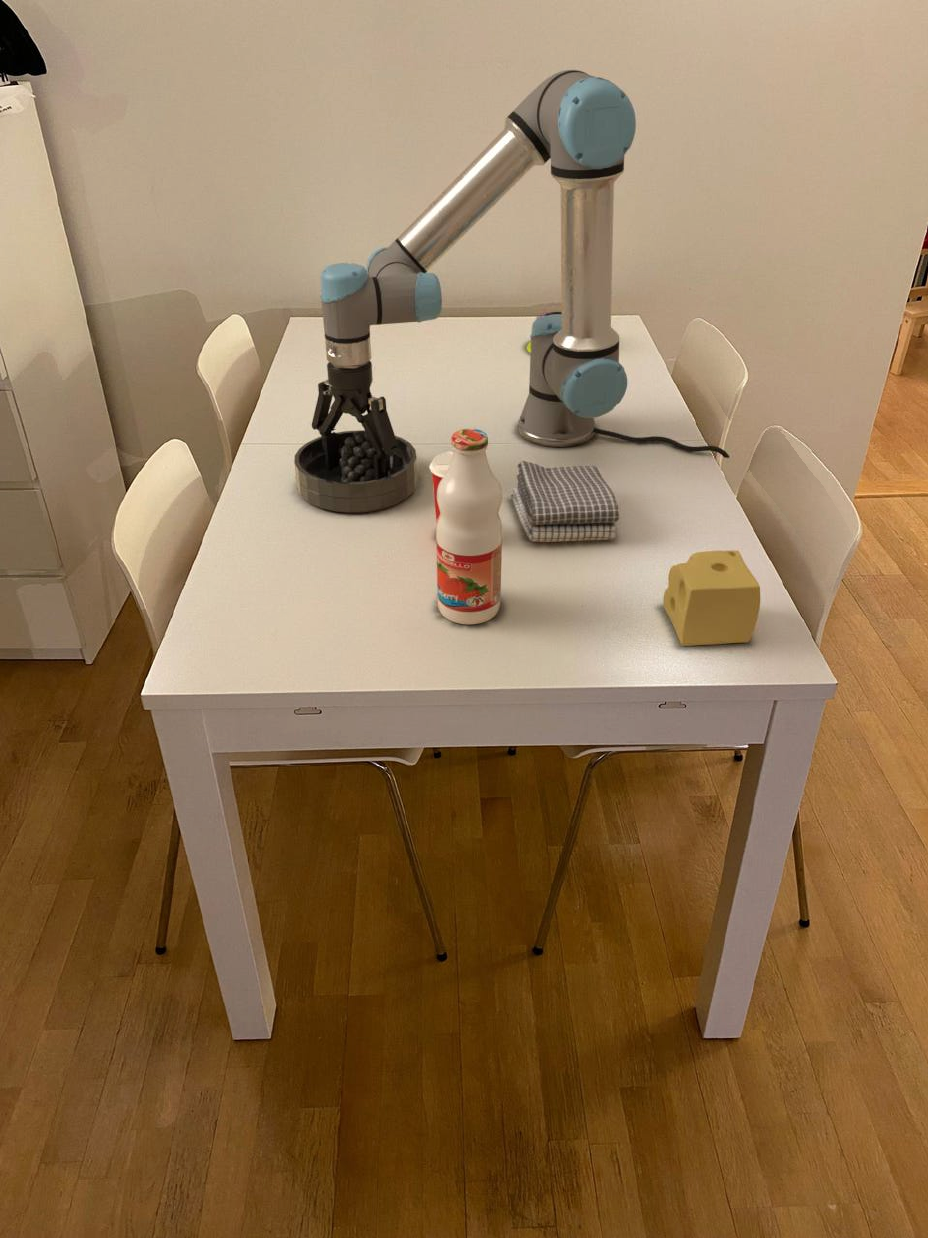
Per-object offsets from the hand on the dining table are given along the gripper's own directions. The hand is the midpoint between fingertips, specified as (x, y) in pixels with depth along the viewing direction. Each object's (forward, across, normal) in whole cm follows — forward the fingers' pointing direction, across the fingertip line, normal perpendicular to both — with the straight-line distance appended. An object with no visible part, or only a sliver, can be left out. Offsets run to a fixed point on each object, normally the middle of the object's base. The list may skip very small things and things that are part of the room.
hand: (357, 477), depth 180 cm
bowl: (+2, 0, 0) cm, 2 cm away
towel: (+2, +36, +13) cm, 38 cm away
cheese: (+2, +70, 0) cm, 70 cm away
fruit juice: (+2, +40, -18) cm, 44 cm away
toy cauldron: (+2, -11, +81) cm, 82 cm away
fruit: (+1, 0, 0) cm, 1 cm away
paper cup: (+2, +25, -3) cm, 25 cm away
